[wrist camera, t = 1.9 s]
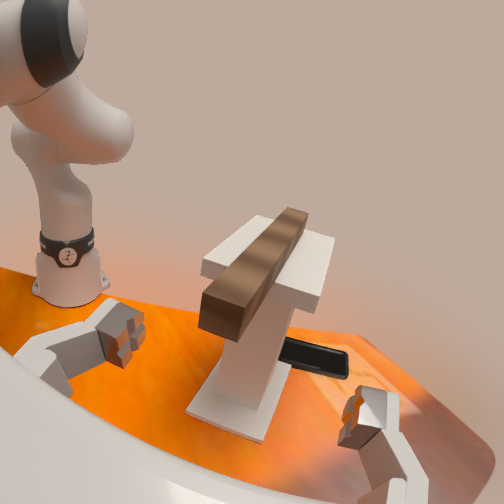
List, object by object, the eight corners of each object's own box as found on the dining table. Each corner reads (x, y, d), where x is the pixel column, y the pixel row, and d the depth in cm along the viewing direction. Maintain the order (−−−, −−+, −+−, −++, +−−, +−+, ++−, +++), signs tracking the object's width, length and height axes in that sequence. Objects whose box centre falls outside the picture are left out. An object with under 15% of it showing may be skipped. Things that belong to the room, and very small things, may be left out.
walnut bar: (237, 342, 22) (245, 307, 20) (197, 327, 22) (202, 292, 21) (303, 233, 45) (308, 213, 43) (282, 227, 45) (287, 207, 44)
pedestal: (261, 444, 40) (319, 296, 29) (185, 413, 43) (202, 258, 32) (290, 368, 56) (335, 238, 45) (229, 347, 59) (256, 215, 48)
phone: (278, 334, 64) (348, 352, 62) (277, 338, 64) (346, 356, 62) (271, 359, 57) (348, 378, 55) (270, 363, 57) (346, 382, 55)
